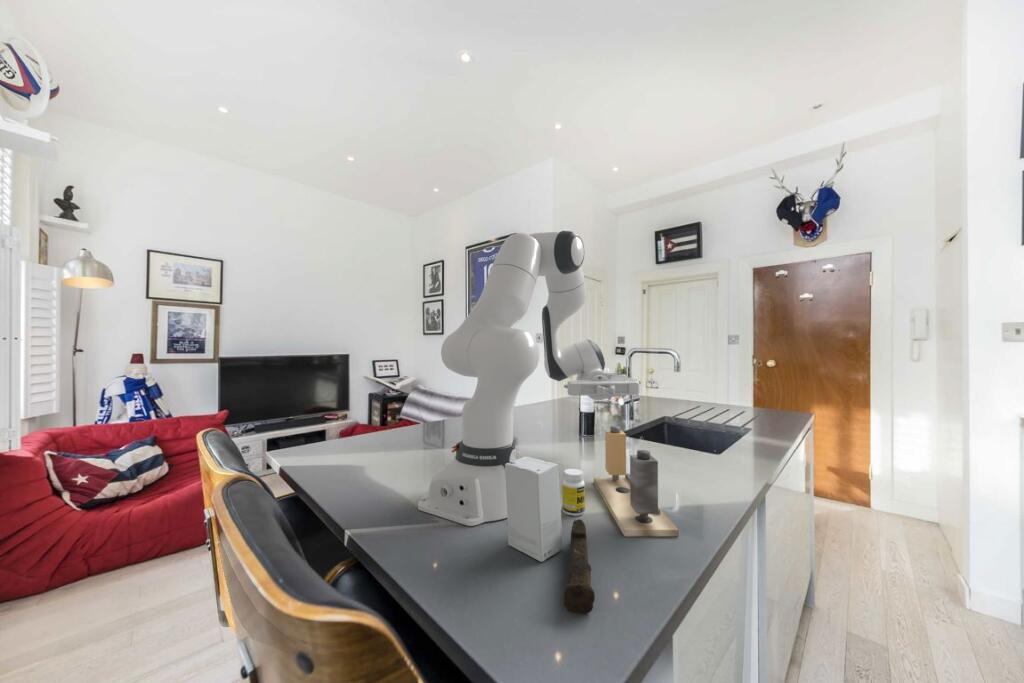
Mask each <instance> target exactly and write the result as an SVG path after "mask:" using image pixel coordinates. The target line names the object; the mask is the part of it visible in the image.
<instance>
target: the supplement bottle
mask: <svg viewBox="0 0 1024 683" xmlns="http://www.w3.org/2000/svg"><path fill="white" fill-rule="evenodd" d="M561 484H562V486H561V488H562V490H561V492H562V493H561V494H562V497H561V500H562V502H561V505H562V506H561V508H562V509H561V511H562V512H563V513H564V514H565V515H568V516H573V517H578V516H582V515H583V514H584V513H585V510H586V502H585V501H586V492H585V491H586V488H585V486H586V484H585V481H584V472H583V470H581V469H578V468H567V469H564V471H563V480H562V483H561Z"/></svg>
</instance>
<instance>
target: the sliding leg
mask: <svg viewBox="0 0 1024 683" xmlns="http://www.w3.org/2000/svg"><path fill="white" fill-rule="evenodd" d="M604 437H605V439H604V440H605V442H604V443H605V449H604V450H605V452H604V453H605V471H606V472H607V474H608V475H609V476H611V478H612V479H613V480H619V478H620V476H625V475H626V474H627V433H625V432H624V431H623V430H622V429H621V426H617V425H615V426H614V425H612V426H610V429H606V430H605V435H604Z"/></svg>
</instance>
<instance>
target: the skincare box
mask: <svg viewBox="0 0 1024 683" xmlns="http://www.w3.org/2000/svg"><path fill="white" fill-rule="evenodd" d="M559 475H560V473H559V464H558V463H554V462H549V461H546V460H542V459H538V458H533V457H530V456H521V457H519V458H516V460H514V461H511V462H509V463H506V464H505V477H506V499H507V537H508V540H507V541H508V546H510V547H512V548H514V549H516V550H518V551H520V552H522V553H524V554H526V555H528V556H529V557H531V558H533V559H534V560H536V561H539V562H540V563H542V562H545V561H546V560H548V558H550V557H552V556H555V555H556V554H557V553H559V552H561V551H562V550H563V531H562V530H563V528H562V509H561V508H562V506H561V492H560V476H559Z"/></svg>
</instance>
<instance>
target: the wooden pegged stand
mask: <svg viewBox="0 0 1024 683" xmlns="http://www.w3.org/2000/svg"><path fill="white" fill-rule="evenodd" d="M658 464H659V461H658V460H657V459H656V458H654V457H653V456H652V455H651V452H650V451H649V450H647V449H646V450H644V449H639V450H637V451H636V454H630V455H629V473H626V475H624V477H619V480H613V479H612V477H593V484H594V486H595V487H596V489H597V491H598V492H599V494H600V497H602V499H603V501H604V503H605V505H606V507H607V508H608V510H609V512H610V515H611V516H612V517H613V519H614V521H615V522H616V525H617V526H618V528H619V529H620V531H621V533H622V535H623V536H624V537H679V536H680V535H679V529H678V527H677V526H676V525H675V524H674V522H672V520H671V519H670V518H669V517H668V516H667V515H666V514H665V512H664V511H663V510H662V509H661V508H660V507H659V465H658Z"/></svg>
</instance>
